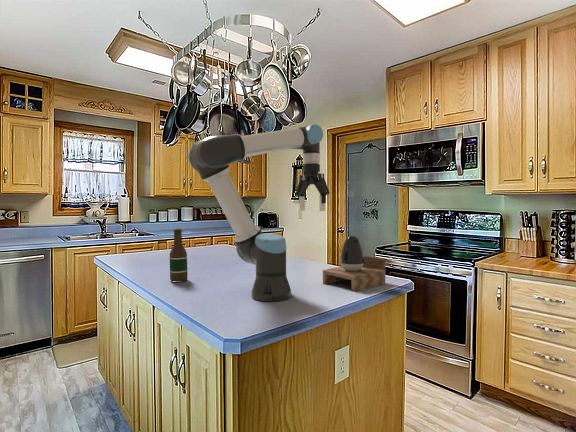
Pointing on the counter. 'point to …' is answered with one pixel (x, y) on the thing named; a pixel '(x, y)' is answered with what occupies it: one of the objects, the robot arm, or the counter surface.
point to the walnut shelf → (359, 274)
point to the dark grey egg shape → (352, 254)
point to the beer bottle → (178, 259)
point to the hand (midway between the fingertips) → (311, 210)
